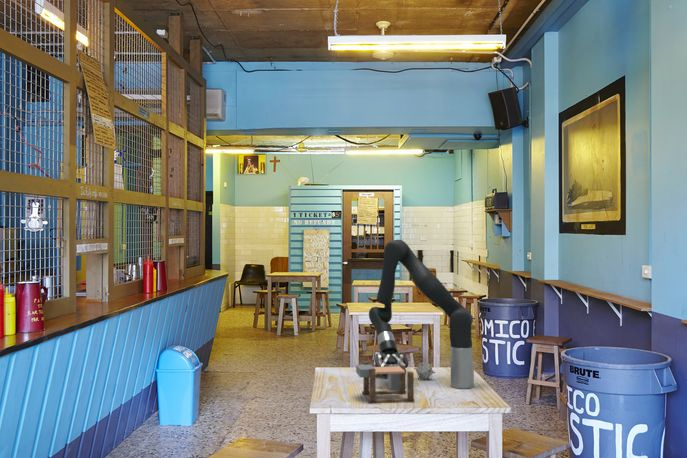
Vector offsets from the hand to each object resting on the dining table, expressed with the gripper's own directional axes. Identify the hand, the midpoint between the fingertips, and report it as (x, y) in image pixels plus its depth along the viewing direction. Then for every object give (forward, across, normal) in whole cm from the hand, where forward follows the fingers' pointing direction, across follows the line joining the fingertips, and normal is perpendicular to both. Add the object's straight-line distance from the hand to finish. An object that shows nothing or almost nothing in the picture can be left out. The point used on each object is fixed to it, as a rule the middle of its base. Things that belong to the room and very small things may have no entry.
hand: (394, 375), depth 260 cm
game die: (-7, +19, +16) cm, 26 cm away
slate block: (+1, 0, 0) cm, 1 cm away
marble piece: (-16, +2, +26) cm, 30 cm away
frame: (+13, -7, -5) cm, 16 cm away
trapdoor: (+6, -10, -11) cm, 16 cm away
